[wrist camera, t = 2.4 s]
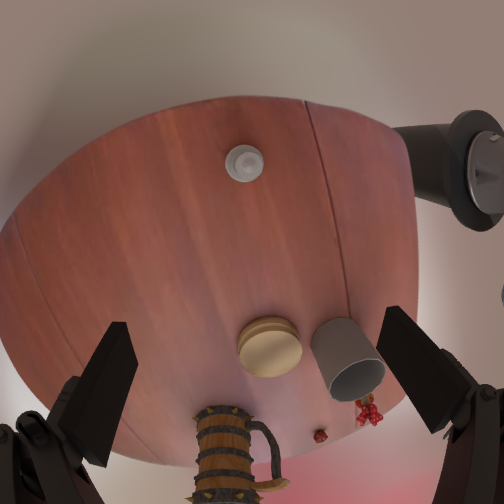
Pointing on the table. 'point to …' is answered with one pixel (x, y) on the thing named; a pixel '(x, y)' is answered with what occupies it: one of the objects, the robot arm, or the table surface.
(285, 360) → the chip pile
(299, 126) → the table surface
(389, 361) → the robot arm
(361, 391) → the cup
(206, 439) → the mug
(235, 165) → the chess piece
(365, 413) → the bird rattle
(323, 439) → the die
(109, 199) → the table surface
